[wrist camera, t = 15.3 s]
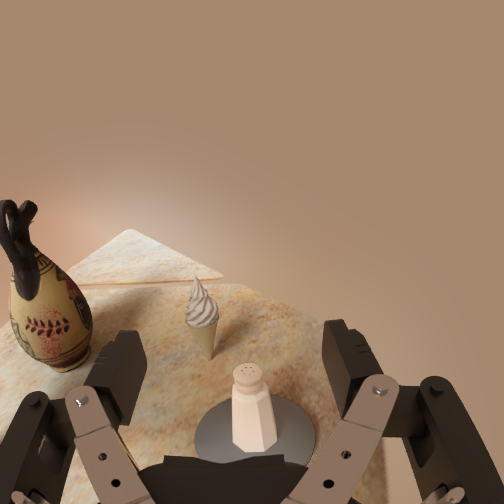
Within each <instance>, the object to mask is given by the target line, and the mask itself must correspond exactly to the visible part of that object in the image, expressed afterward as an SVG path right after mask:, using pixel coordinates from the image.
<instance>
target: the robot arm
mask: <svg viewBox="0 0 504 504" xmlns="http://www.w3.org/2000/svg"><path fill="white" fill-rule="evenodd" d="M322 359H323V363H324V366H325V369H326V372H327V375H328V378H329V382H330V385H331V388H332V391H333V394H334V397H335V400H336V403H337V406H338V410H339V413H340V416H341V419H340V420H339V422H338V423H337V425H336V427H335V428H334V430H333V432H332V433H331V435H330V437H329V438H328V440H327V441H326V443H325V444H324V446H323V448H322V449H321V451H320V452H319V454H318V455H317V457H316V458H315V460H314V461H313V463H312V464H311V466H310V467H309V468H308V467H306V466H304V465H300V464H297V463H292V462H285V460H284V454H278V455H266V456H253V457H249V458H245V459H241V460H237V461H233V462H228V463H216V462H212V461H207V460H203V459H199V458H195V457H182V456H166V455H164V461H163V463H160V464H156V465H152V466H149V467H147V468H145V469H143V470H140V468H139V467H138V465H137V463H136V462H135V460H134V459H133V457H132V455H131V453H130V452H129V450H128V448H127V446H126V445H125V443H124V441H123V439H122V437H121V435H120V434H119V432H118V428H119V425H126V426H129V424H130V421H131V418H132V414H133V411H134V408H135V404H136V401H137V398H138V395H139V392H140V389H141V385H142V382H143V379H144V376H145V373H146V370H147V359H146V355H145V352H144V349H143V346H142V343H141V340H140V336H139V333H138V332H137V331H136V330H121V331H119V333H118V335H117V337H116V338H115V340H114V341H110V342H109V343H108V344H107V345H105V346H104V347H103V348H102V350H101V352H100V354H99V356H98V358H97V359H96V361H95V364H94V365H93V367H92V369H91V371H90V373H89V375H88V377H87V379H86V381H85V383H84V385H83V386H79V387H76V388H74V389H72V390H71V391H70V392H69V393H68V394H67V396H66V398H64V399H56V400H50V399H49V398H48V396H47V395H46V394H45V393H44V392H41V391H35V392H32V393H30V394H28V395H27V396H26V397H25V398H24V399H23V401H22V402H21V404H20V406H19V408H18V410H17V412H16V414H15V416H14V418H13V420H12V422H11V424H10V426H9V428H8V430H7V432H6V435H5V437H4V439H3V441H2V443H1V445H0V504H60V501H61V497H62V493H63V489H64V486H65V482H66V478H67V475H68V471H69V468H70V464H71V461H72V457H73V454H74V451H75V448H76V447H77V450H78V453H79V455H80V458H81V460H82V463H83V465H84V468H85V470H86V472H87V475H88V477H89V479H90V482H91V484H92V486H93V488H94V490H95V492H96V495H97V497H98V499H99V501H100V502H99V503H98V504H361V503H359V502H358V501H356V500H355V499H353V498H352V497H351V496H352V494H353V492H354V491H355V489H356V487H357V485H358V483H359V481H360V479H361V477H362V476H363V474H364V472H365V470H366V468H367V466H368V464H369V462H370V460H371V458H372V455H373V453H374V451H375V449H376V447H377V445H378V442H379V440H380V438H381V437H401V438H402V440H403V443H404V446H405V449H406V452H407V454H408V458H409V461H410V463H411V467H412V469H413V473H414V476H415V479H416V482H417V485H418V488H419V491H420V495H421V498H422V501H423V502H422V503H421V504H504V485H503V483H502V481H501V478H500V476H499V474H498V472H497V470H496V467H495V465H494V463H493V461H492V459H491V457H490V455H489V453H488V451H487V449H486V447H485V445H484V443H483V441H482V439H481V437H480V435H479V433H478V431H477V429H476V427H475V425H474V423H473V422H472V420H471V418H470V416H469V414H468V412H467V411H466V409H465V407H464V405H463V403H462V402H461V400H460V398H459V396H458V395H457V393H456V392H455V390H454V388H453V386H452V385H451V383H450V382H449V381H448V380H446V379H445V378H442V377H439V376H430V377H427V378H425V379H424V380H423V381H422V382H421V384H420V386H401V385H398V383H397V382H396V380H394V379H393V378H392V377H390V376H387V375H384V373H383V371H382V369H381V368H380V366H379V364H378V362H377V360H376V358H375V356H374V354H373V352H371V348H370V347H369V345H368V343H367V341H366V339H365V337H364V336H363V335H362V334H361V333H360V332H358V331H357V330H356V329H351V330H348V328H347V326H346V324H345V322H344V320H343V319H338V320H329V321H325V323H324V332H323V343H322ZM43 438H44V439H45V440H44V443H43V445H42V448H41V451H40V453H39V455H38V450H39V447H40V444H41V441H42V439H43Z"/></svg>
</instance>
